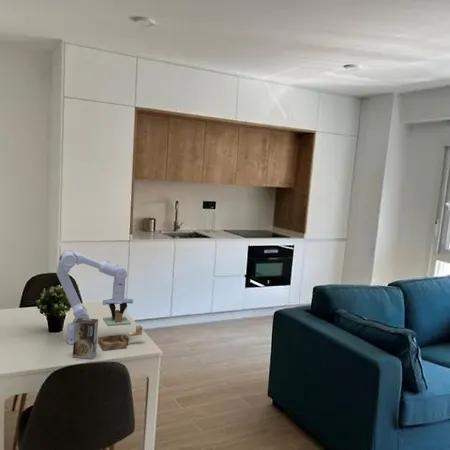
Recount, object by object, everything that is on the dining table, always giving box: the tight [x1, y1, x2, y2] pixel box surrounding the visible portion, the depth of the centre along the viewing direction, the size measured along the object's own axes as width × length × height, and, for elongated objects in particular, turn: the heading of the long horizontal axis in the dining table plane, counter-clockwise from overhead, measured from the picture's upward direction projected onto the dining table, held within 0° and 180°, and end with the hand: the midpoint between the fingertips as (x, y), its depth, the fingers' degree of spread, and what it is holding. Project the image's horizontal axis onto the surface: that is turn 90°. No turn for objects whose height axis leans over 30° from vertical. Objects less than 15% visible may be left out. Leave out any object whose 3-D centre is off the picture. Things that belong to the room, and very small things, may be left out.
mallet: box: [127, 324, 143, 337], centre depth 218 cm, size 6×3×4 cm, turn 119°
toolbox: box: [97, 334, 130, 351], centre depth 213 cm, size 13×10×4 cm
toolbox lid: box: [102, 309, 131, 327], centre depth 221 cm, size 11×10×5 cm
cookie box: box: [72, 318, 99, 360], centre depth 198 cm, size 9×6×16 cm
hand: (116, 318), depth 221 cm, fingers closed on toolbox lid, 3 cm apart
